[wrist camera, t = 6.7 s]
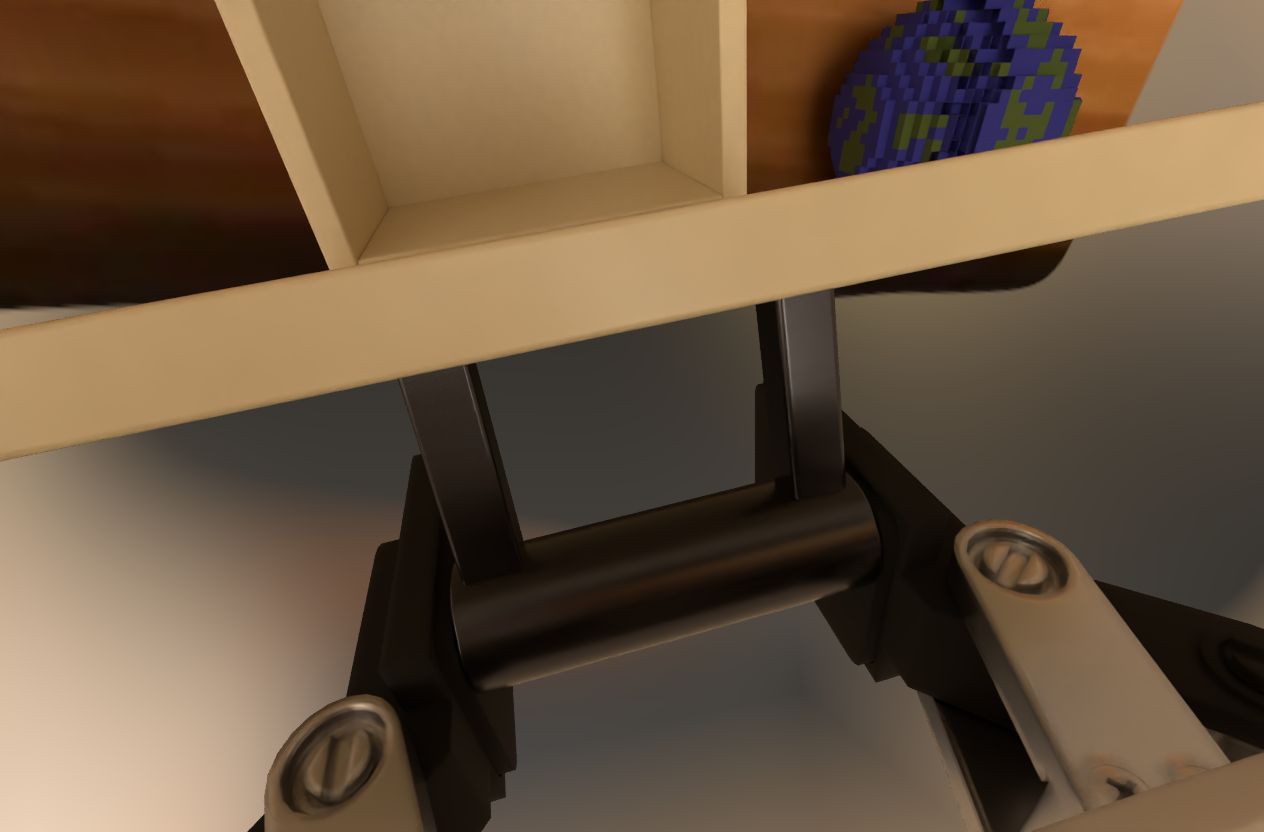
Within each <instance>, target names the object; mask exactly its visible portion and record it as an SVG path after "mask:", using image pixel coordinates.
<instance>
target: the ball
mask: <svg viewBox="0 0 1264 832" xmlns="http://www.w3.org/2000/svg"><path fill="white" fill-rule="evenodd" d="M1034 2H1035V0H931V1H923V2H918V3H917V7H916V12H915V13H906V14H897V18H896V23H895V26H888V27H885V28H883V29H882V35H881V38H880V39H872V40H869V46H868V51H859V55H858V60H857V62H854V65H853V70H852V73H847V76H846V82H845V84H842V86H841V92H840V94H835V99H834V105H833V111H832V117H831V123H830V129H829V135H828V141H827V144H828V147H831V151H830V155H831V158H832V163H833V166H834V169H835V173H836V177H837V178H842V177H847V176H853V175H858V174H864V173H869V172H875V171H880V170H886V169H891V168H897V167H903V166H908V165H914V164H919V163H925V162H930V161H936V160H941V159H947V158H952V157H958V156H963V155H969V154H974V153H980V152H985V151H991V150H996V149H1002V148H1007V147H1013V146H1019V145H1024V144H1030V143H1035V142H1041V141H1046V140H1052V139H1057V138H1063V137H1068V136H1069V135H1070V132H1071V130H1072V127H1073V124H1074V121H1075V119H1076V116H1077V113H1078V111H1079V108H1080V105H1081V103H1082V99H1081V98H1079V97H1075V95H1076V92H1077V89H1078V88H1077V87H1078V84H1079V82H1080V79H1081V76H1082V75H1081V74H1074V71H1075V68H1076V65H1077V61H1078V58H1079V55H1080V52H1081V49H1072V48H1073V45H1074V43H1075V40H1076V37H1077V36H1059V33H1060V30H1061V27H1062V24H1063V23H1054V22H1046V20H1047V17H1048V14H1049V9H1033V6H1034Z"/></svg>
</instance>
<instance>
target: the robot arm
mask: <svg viewBox="0 0 1264 832" xmlns="http://www.w3.org/2000/svg"><path fill="white" fill-rule="evenodd" d="M842 425H843V441H844V457H845V471H846V472H848V473H849V474H850V475H851V476H852V477H853V478H854V480H855V481H856V482H857V483H858V485H859V486H860V487H861V489H862V490H863V492H864V494H865V495H866V497H867V499H868V501H869V503H870V505H871V507H872V510H873V512H874V515H875V517H876V520H877V523H878V527H879V530H880V534H881V539H882V545H883V567H882V571H881V574H880V576H879V578H878V579H877V580H876V581H875V582H874V583H873V584H871V585H868V586H865V587H861V588H857V589H854V590H850V591H847V592H843V593H840V594H836V595H833V596H829V597H825V598H822V599H818V600H815V603H816V604H817V606H818V607H819V609H820V611H821V612H822V614H823V616H824V617H825V619H826V620H827V622H828V624H829V625H830V627H831V629H832V630H833V632H834V633H835V635H836V636H837V638H838V640H839V642H840V643H841V645H842V646H843V648H844V649H845V651H846V653H847V654H848V656H849V657H850V659H851V660H852V661H853V662H854V663H855V664H856V665H861V664H865V666H866V668H867V669H868V671H869V672H870V674H871V675H872V677H873V679H874V680H875V682H879V681H883V680H886V679H889V678H892V677H896V676H899V675H900V676H901V677H902V679H903V680H904V681H905V683H906V684H907V686H908V687H910V688H912V689H914V690H917V693H918V696H919V699H920V702H921V704H922V707H923V710H924V712H925V715H926V718H927V721H928V724H929V726H930V729H931V732H932V735H933V738H934V740H935V743H936V746H937V749H938V751H939V754H940V757H941V759H942V762H943V765H944V768H945V771H946V774H947V776H948V779H949V782H950V785H951V787H952V790H953V793H954V796H955V798H956V801H957V804H958V806H959V809H960V812H961V815H962V818H963V821H964V823H965V826H966V828H967V832H1264V629H1262V628H1259V627H1256V626H1254V625H1251V624H1248V623H1244V622H1241V621H1237V620H1233V619H1230V618H1227V617H1223V616H1219V615H1216V614H1212V613H1209V612H1205V611H1202V610H1198V609H1195V608H1191V607H1188V606H1184V605H1181V604H1177V603H1174V602H1170V601H1166V600H1163V599H1160V598H1156V597H1153V596H1149V595H1146V594H1142V593H1139V592H1135V591H1132V590H1128V589H1125V588H1121V587H1118V586H1114V585H1111V584H1107V583H1104V582H1100V581H1097V580H1093V579H1092V578H1091V577H1090V575H1089V574H1088V573H1087V571H1086V570H1085V569H1084V567H1083V566H1082V565H1081V563H1080V562H1079V561H1078V559H1077V558H1076V557H1075V556H1074V555H1073V554H1072V553H1071V552H1070V551H1069V550H1068V549H1067V548H1066V547H1065V546H1064V545H1063V544H1062V543H1060V542H1059V541H1057V540H1056V539H1054V538H1053V537H1051V536H1050V535H1048V534H1047V533H1044V532H1042V531H1040V530H1037V529H1035V528H1033V527H1031V526H1028V525H1024V524H1020V523H1016V522H1012V521H1006V520H985V521H979V522H974V523H972V524H970V525H968V526H965V525H964V524H963V523H962V522H961V521H960V520H959V519H958V518H957V517H956V516H955V515H954V514H953V513H951V511H950V510H949V509H948V508H946V506H944V505H943V504H942V503H941V502H940V501H939V500H938V499H937V498H936V497H935V496H934V495H933V494H932V493H931V492H930V491H929V490H928V489H927V488H926V487H925V486H924V485H922V484H921V482H920V481H919V480H917V479H916V478H915V477H914V476H913V475H912V474H911V473H910V472H909V471H908V470H907V469H906V468H905V467H904V466H903V465H902V464H901V463H900V462H899V461H898V460H897V459H896V458H895V457H894V456H892V455H891V454H890V453H889V452H888V451H887V450H886V449H885V448H884V447H883V446H882V445H881V444H880V443H879V442H878V441H877V440H876V439H875V438H874V437H873V436H872V435H871V434H870V433H869V432H867V431H866V430H865V429H863V428H861V427H859V426H858V425H857V424H856V423H855V422H854V421H853V420H852V419H851V418H850V417H849V416H848V415H847V414H846V413H845V412H843V411H842ZM770 479H774V473H773V463H772V454H771V444H770V435H769V425H768V416H767V407H766V397H765V388H764V381H763V384H758V385H757V386H756V389H755V483H758V482H762V481H766V480H770ZM454 561H455V559H454V556H453V553H452V550H451V546H450V543H449V540H448V537H447V534H446V531H445V527H444V524H443V521H442V518H441V515H440V511H439V508H438V505H437V502H436V499H435V496H434V492H433V489H432V486H431V483H430V480H429V476H428V473H427V470H426V467H425V464H424V461H423V457H422V454H419V455H415V456H414V457H413V459H412V464H411V470H410V476H409V483H408V489H407V495H406V502H405V508H404V513H403V520H402V526H401V532H400V538H399V540H394V541H390V542H386V543H382V544H381V545H380V546H379V547H378V549H377V552H376V555H375V559H374V564H373V569H372V574H371V578H370V583H369V589H368V593H367V598H366V603H365V608H364V612H363V618H362V622H361V627H360V632H359V637H358V642H357V647H356V651H355V656H354V662H353V666H352V671H351V676H350V681H349V686H348V690H347V696H346V697H345V698H343V699H340V700H338V701H335V702H332V703H330V704H328V705H326V706H325V707H324V708H322V709H320V710H319V711H317V712H316V713H314V714H313V715H311V716H310V717H309V718H308V719H306V720H305V721H304V722H303V724H301V725H300V726H299V727H298V728H297V729H296V730H295V731H294V732H293V733H292V734H291V735H290V737H289V738H288V740H287V741H286V742H285V744H284V745H283V747H282V748H281V749H280V751H279V752H278V753H277V756H276V758H275V760H274V763H273V765H272V767H271V769H270V771H269V773H268V777H267V784H266V790H265V796H264V797H265V814H264V815H263V816H262V817H261V818H260V819H259V820H258V821H257V822H256V823H255V824H254V826H253V827H252V828H251V829H250V830H249V831H248V832H481V831H482V830H483V828H484V827H485V825H486V824H487V822H488V821H489V820H490V818H491V802H492V801H495V800H498V799H502V798H505V797H506V792H505V773H506V772H510V771H513V770H516V765H517V764H516V763H517V755H516V737H515V719H514V702H513V685H512V686H509V687H505V688H501V689H498V690H494V691H491V692H487V693H484V694H478V693H476V692H474V691H473V689H472V688H471V686H470V685H469V683H468V681H467V679H466V676H465V674H464V672H463V669H462V666H461V663H460V659H459V656H458V652H457V647H456V643H455V638H454V632H453V626H452V618H451V609H450V576H451V570H452V566H453V563H454Z"/></svg>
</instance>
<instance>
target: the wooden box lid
mask: <svg viewBox="0 0 1264 832" xmlns="http://www.w3.org/2000/svg"><path fill="white" fill-rule="evenodd" d="M1263 199H1264V101H1262V102H1256V103H1251V104H1245V105H1240V106H1235V107H1228V108H1224V109H1217V110H1212V111H1206V112H1201V113H1196V114H1190V115H1185V116H1179V117H1173V118H1168V119H1162V120H1157V121H1151V122H1146V123H1140V124H1135V125H1129V126H1124V127H1118V128H1112V129H1107V130H1101V131H1096V132H1090V133H1085V134H1079V135H1074V136H1068V137H1063V138H1057V139H1052V140H1046V141H1041V142H1035V143H1030V144H1024V145H1019V146H1013V147H1007V148H1002V149H996V150H991V151H985V152H980V153H974V154H969V155H963V156H958V157H952V158H947V159H941V160H936V161H930V162H925V163H919V164H914V165H908V166H903V167H897V168H891V169H886V170H880V171H875V172H869V173H864V174H858V175H853V176H847V177H842V178H836V179H831V180H825V181H820V182H814V183H809V184H803V185H798V186H792V187H786V188H781V189H775V190H770V191H764V192H759V193H753V194H748V195H742V196H737V197H731V198H726V199H720V200H715V201H709V202H704V203H698V204H693V205H687V206H682V207H676V208H670V209H665V210H659V211H654V212H648V213H643V214H637V215H632V216H626V217H621V218H615V219H610V220H604V221H599V222H593V223H588V224H582V225H577V226H571V227H565V228H560V229H554V230H549V231H543V232H538V233H532V234H527V235H521V236H516V237H510V238H505V239H499V240H494V241H488V242H483V243H477V244H472V245H466V246H461V247H455V248H449V249H444V250H438V251H433V252H427V253H422V254H416V255H411V256H405V257H400V258H394V259H389V260H383V261H378V262H372V263H367V264H361V265H356V266H350V267H344V268H339V269H333V270H328V271H322V272H317V273H311V274H306V275H300V276H295V277H289V278H284V279H278V280H273V281H267V282H262V283H256V284H251V285H245V286H240V287H234V288H228V289H223V290H217V291H212V292H206V293H201V294H195V295H190V296H184V297H179V298H173V299H168V300H162V301H157V302H151V303H146V304H140V305H135V306H129V307H123V308H118V309H112V310H107V311H101V312H96V313H91V314H85V315H79V316H74V317H69V318H63V319H57V320H52V321H47V322H41V323H35V324H30V325H24V326H19V327H13V328H7V329H2V330H0V461H4V460H8V459H13V458H18V457H23V456H28V455H32V454H37V453H42V452H47V451H52V450H57V449H62V448H66V447H71V446H76V445H81V444H86V443H91V442H95V441H100V440H105V439H110V438H115V437H120V436H124V435H129V434H134V433H139V432H143V431H148V430H153V429H158V428H163V427H167V426H173V425H177V424H182V423H187V422H191V421H197V420H202V419H206V418H211V417H216V416H221V415H225V414H230V413H235V412H240V411H245V410H250V409H255V408H259V407H264V406H268V405H274V404H279V403H284V402H288V401H293V400H298V399H303V398H308V397H312V396H317V395H322V394H327V393H332V392H337V391H341V390H346V389H351V388H356V387H361V386H365V385H370V384H374V383H380V382H385V381H389V380H395V379H398V381H399V384H400V387H401V390H402V394H403V397H404V400H405V403H406V406H407V410H408V412H409V416H410V419H411V422H412V425H413V429H414V432H415V435H416V438H417V441H418V445H419V448H420V451H421V454H422V457H423V461H424V464H425V467H426V470H427V473H428V476H429V480H430V483H431V486H432V489H433V492H434V496H435V499H436V502H437V505H438V508H439V511H440V515H441V518H442V521H443V524H444V527H445V531H446V534H447V537H448V540H449V543H450V546H451V550H452V553H453V556H454V559H455V561H454V563H453V566H452V570H451V576H450V609H451V618H452V626H453V632H454V638H455V643H456V647H457V652H458V656H459V659H460V663H461V666H462V669H463V672H464V674H465V676H466V679H467V681H468V683H469V685H470V686H471V688H472V689H473V691H474V692H476V693H478V694H484V693H487V692H491V691H494V690H498V689H501V688H505V687H509V686H512V685H515V684H519V683H523V682H526V681H530V680H533V679H537V678H540V677H544V676H547V675H551V674H555V673H558V672H562V671H565V670H569V669H572V668H576V667H579V666H583V665H587V664H590V663H594V662H597V661H601V660H605V659H608V658H612V657H615V656H619V655H622V654H626V653H630V652H633V651H637V650H640V649H644V648H647V647H651V646H655V645H658V644H662V643H665V642H669V641H672V640H676V639H679V638H683V637H686V636H690V635H694V634H697V633H700V632H704V631H708V630H711V629H715V628H719V627H722V626H725V625H729V624H732V623H736V622H740V621H743V620H747V619H751V618H754V617H758V616H761V615H765V614H768V613H772V612H776V611H779V610H783V609H786V608H790V607H793V606H797V605H800V604H804V603H807V602H811V601H815V600H818V599H822V598H825V597H829V596H833V595H836V594H840V593H843V592H847V591H850V590H854V589H857V588H861V587H865V586H868V585H871V584H873V583H874V582H875V581H876V580H877V579H878V578H879V576H880V574H881V571H882V567H883V545H882V539H881V534H880V530H879V527H878V523H877V520H876V517H875V515H874V512H873V510H872V507H871V505H870V503H869V501H868V499H867V497H866V495H865V494H864V492H863V490H862V489H861V487H860V486H859V485H858V483H857V482H856V481H855V480H854V478H853V477H852V476H851V475H850V474H849V473H848V472H846V471H845V457H844V441H843V425H842V409H841V395H840V378H839V362H838V346H837V330H836V314H835V298H834V288H838V287H843V286H848V285H853V284H858V283H863V282H867V281H872V280H877V279H882V278H887V277H891V276H896V275H901V274H906V273H911V272H916V271H920V270H925V269H930V268H935V267H940V266H945V265H949V264H954V263H959V262H964V261H969V260H973V259H978V258H983V257H988V256H993V255H998V254H1002V253H1007V252H1012V251H1017V250H1022V249H1027V248H1031V247H1036V246H1041V245H1046V244H1051V243H1055V242H1060V241H1065V240H1070V239H1075V238H1080V237H1084V236H1089V235H1094V234H1099V233H1104V232H1109V231H1113V230H1118V229H1123V228H1127V227H1133V226H1137V225H1142V224H1147V223H1152V222H1156V221H1162V220H1166V219H1171V218H1176V217H1181V216H1186V215H1191V214H1195V213H1200V212H1205V211H1210V210H1215V209H1219V208H1224V207H1229V206H1234V205H1239V204H1244V203H1248V202H1253V201H1258V200H1263ZM751 305H756V312H757V322H758V331H759V340H760V350H761V360H762V369H763V378H764V388H765V397H766V407H767V416H768V425H769V435H770V444H771V454H772V463H773V473H774V479H770V480H766V481H762V482H758V483H754V484H750V485H746V486H742V487H738V488H734V489H730V490H726V491H722V492H718V493H714V494H710V495H706V496H702V497H698V498H694V499H690V500H686V501H682V502H678V503H674V504H670V505H666V506H662V507H658V508H654V509H650V510H646V511H642V512H638V513H634V514H630V515H626V516H622V517H617V518H613V519H610V520H605V521H602V522H597V523H593V524H589V525H585V526H581V527H577V528H573V529H569V530H565V531H561V532H557V533H553V534H550V535H545V536H541V537H537V538H533V539H530V540H525V541H523V538H522V534H521V530H520V526H519V523H518V519H517V515H516V511H515V508H514V504H513V500H512V496H511V493H510V489H509V485H508V482H507V478H506V474H505V471H504V466H503V463H502V459H501V455H500V451H499V448H498V444H497V440H496V437H495V434H494V429H493V426H492V422H491V418H490V414H489V410H488V407H487V403H486V399H485V396H484V392H483V388H482V384H481V380H480V377H479V373H478V369H477V366H476V363H477V362H481V361H486V360H491V359H496V358H501V357H505V356H510V355H515V354H520V353H525V352H529V351H534V350H539V349H544V348H549V347H554V346H559V345H563V344H568V343H573V342H578V341H582V340H587V339H592V338H597V337H602V336H606V335H611V334H616V333H621V332H626V331H630V330H636V329H640V328H645V327H650V326H655V325H660V324H665V323H670V322H674V321H679V320H684V319H689V318H694V317H698V316H703V315H708V314H713V313H717V312H723V311H727V310H732V309H737V308H742V307H747V306H751Z"/></svg>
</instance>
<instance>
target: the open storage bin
mask: <svg viewBox="0 0 1264 832" xmlns="http://www.w3.org/2000/svg"><path fill="white" fill-rule="evenodd" d="M214 1H215V3H216V5H217V8H218V10H219V12H220V15H221V17H222V19H223V22H224V24H225V26H226V29H227V31H228V33H229V36H230V38H231V40H232V43H233V45H234V47H235V50H236V52H237V54H238V57H239V59H240V61H241V64H242V66H243V68H244V71H245V73H246V75H247V78H248V80H249V82H250V85H251V87H252V89H253V92H254V94H255V96H256V99H257V101H258V103H259V106H260V108H261V110H262V113H263V115H264V117H265V120H266V122H267V124H268V127H269V129H270V131H271V134H272V136H273V138H274V141H275V143H276V145H277V148H278V150H279V152H280V155H281V157H282V159H283V162H284V164H285V166H286V169H287V171H288V173H289V176H290V178H291V180H292V183H293V185H294V187H295V190H296V192H297V194H298V197H299V199H300V201H301V204H302V206H303V208H304V211H305V213H306V215H307V218H308V220H309V223H310V225H311V227H312V230H313V232H314V234H315V237H316V239H317V241H318V244H319V246H320V248H321V251H322V253H323V255H324V258H325V260H326V262H327V265H328V267H329V269H330V270H333V269H339V268H344V267H350V266H356V265H361V264H367V263H372V262H378V261H383V260H389V259H394V258H400V257H405V256H411V255H416V254H422V253H427V252H433V251H438V250H444V249H449V248H455V247H461V246H466V245H472V244H477V243H483V242H488V241H494V240H499V239H505V238H510V237H516V236H521V235H527V234H532V233H538V232H543V231H549V230H554V229H560V228H565V227H571V226H577V225H582V224H588V223H593V222H599V221H604V220H610V219H615V218H621V217H626V216H632V215H637V214H643V213H648V212H654V211H659V210H665V209H670V208H676V207H682V206H687V205H693V204H698V203H704V202H709V201H715V200H720V199H726V198H731V197H737V196H742V195H747V0H214Z"/></svg>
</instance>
